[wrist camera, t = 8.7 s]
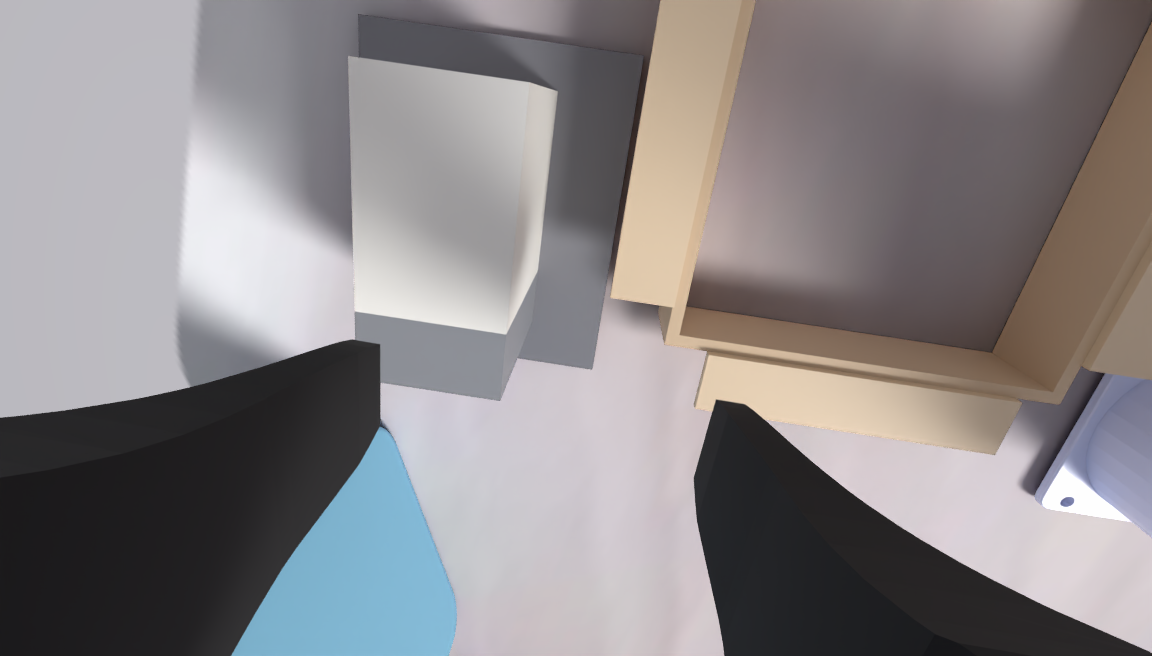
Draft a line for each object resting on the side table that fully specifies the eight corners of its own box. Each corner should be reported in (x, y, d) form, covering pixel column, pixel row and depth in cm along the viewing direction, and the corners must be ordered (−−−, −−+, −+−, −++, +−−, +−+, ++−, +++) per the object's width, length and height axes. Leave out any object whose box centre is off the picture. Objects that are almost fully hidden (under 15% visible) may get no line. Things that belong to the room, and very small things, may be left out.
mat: (643, 56, 17) (644, 55, 17) (592, 365, 21) (592, 369, 21) (364, 16, 17) (358, 14, 17) (369, 330, 21) (364, 334, 21)
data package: (290, 423, 23) (-7, 708, 12) (385, 409, 23) (164, 695, 12) (381, 620, 28) (222, 963, 16) (463, 613, 27) (356, 964, 16)
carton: (1268, -31, 15) (1435, -67, 12) (1027, 417, 21) (1098, 470, 18) (674, -114, 15) (689, -171, 12) (597, 352, 21) (594, 392, 18)
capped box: (557, 91, 17) (529, 82, 12) (532, 321, 20) (499, 401, 15) (434, 73, 17) (347, 56, 12) (428, 305, 20) (356, 378, 15)
